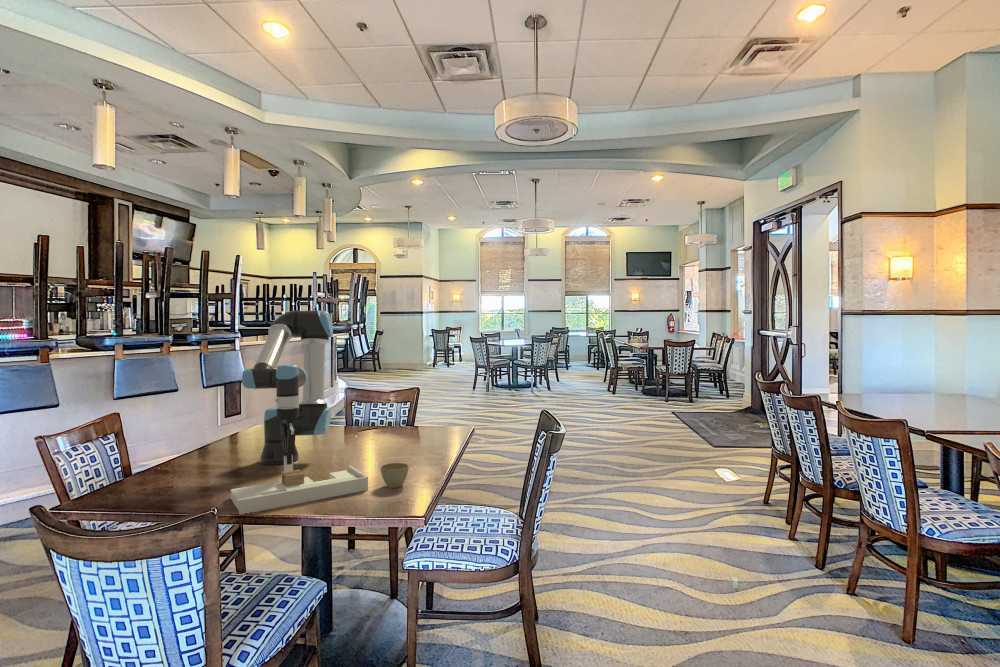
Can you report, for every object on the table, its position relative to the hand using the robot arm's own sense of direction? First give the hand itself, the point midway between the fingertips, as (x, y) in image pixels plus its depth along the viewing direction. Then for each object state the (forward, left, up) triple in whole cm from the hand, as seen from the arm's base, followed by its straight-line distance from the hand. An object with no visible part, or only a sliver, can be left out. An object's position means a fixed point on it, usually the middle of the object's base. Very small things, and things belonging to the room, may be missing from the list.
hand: (288, 472), depth 192 cm
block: (+9, -1, -2) cm, 9 cm away
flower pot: (+24, +31, -5) cm, 39 cm away
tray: (+13, +1, -5) cm, 14 cm away
